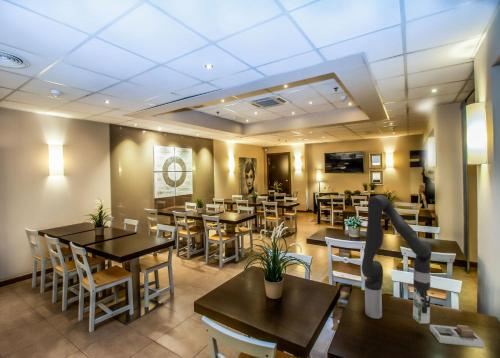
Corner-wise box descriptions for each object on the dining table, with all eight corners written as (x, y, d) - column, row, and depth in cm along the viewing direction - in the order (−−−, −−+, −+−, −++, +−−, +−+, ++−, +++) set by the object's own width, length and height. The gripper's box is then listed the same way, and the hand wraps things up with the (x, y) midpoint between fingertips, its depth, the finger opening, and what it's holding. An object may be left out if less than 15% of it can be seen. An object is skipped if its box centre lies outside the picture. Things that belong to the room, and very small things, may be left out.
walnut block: (456, 335, 135) (456, 324, 135) (467, 337, 134) (467, 325, 134) (462, 342, 130) (462, 330, 130) (473, 343, 129) (473, 331, 129)
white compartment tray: (429, 329, 140) (429, 324, 140) (469, 333, 136) (469, 328, 136) (439, 342, 130) (439, 337, 130) (483, 347, 125) (483, 341, 125)
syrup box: (412, 317, 139) (412, 291, 138) (423, 317, 139) (423, 291, 138) (419, 323, 133) (419, 297, 133) (430, 323, 133) (430, 296, 133)
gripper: (408, 272, 143) (408, 301, 144) (420, 284, 129) (419, 316, 130) (423, 273, 141) (422, 302, 142) (436, 285, 127) (436, 318, 128)
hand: (421, 309), depth 136 cm, fingers closed on syrup box, 6 cm apart
